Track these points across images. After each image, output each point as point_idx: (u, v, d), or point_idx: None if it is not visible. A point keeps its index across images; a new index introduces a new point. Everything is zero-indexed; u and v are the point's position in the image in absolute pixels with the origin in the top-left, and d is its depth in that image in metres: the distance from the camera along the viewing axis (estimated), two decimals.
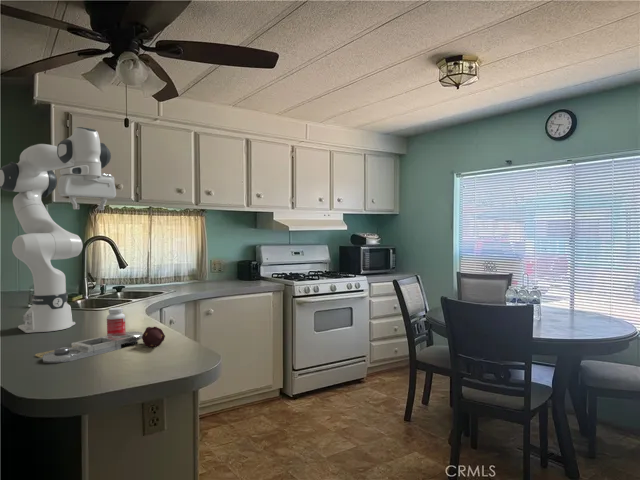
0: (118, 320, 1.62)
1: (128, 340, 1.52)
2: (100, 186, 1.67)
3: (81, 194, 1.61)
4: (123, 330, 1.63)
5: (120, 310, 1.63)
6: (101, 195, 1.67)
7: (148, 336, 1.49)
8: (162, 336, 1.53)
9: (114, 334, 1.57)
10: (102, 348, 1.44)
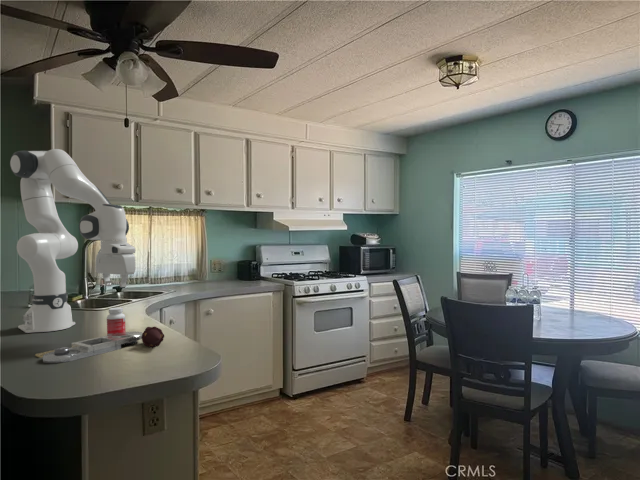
0: (118, 320, 1.62)
1: (128, 340, 1.52)
2: None
3: None
4: (123, 330, 1.63)
5: (120, 310, 1.63)
6: None
7: (147, 336, 1.49)
8: (161, 336, 1.53)
9: (114, 334, 1.57)
10: (102, 348, 1.44)
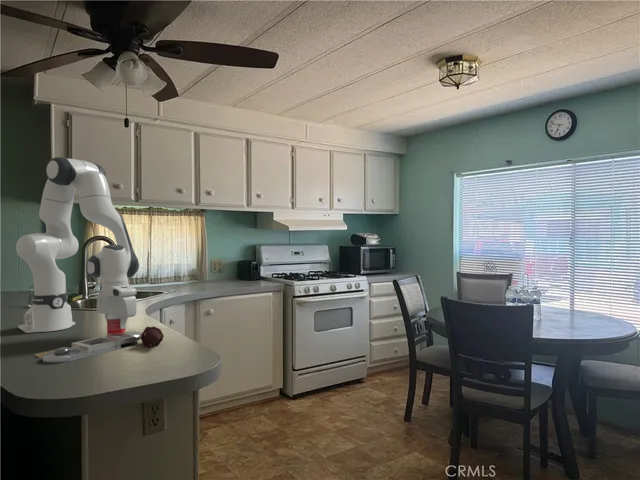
0: (118, 320, 1.62)
1: (128, 340, 1.52)
2: None
3: None
4: (123, 330, 1.63)
5: None
6: None
7: (147, 335, 1.49)
8: (161, 336, 1.53)
9: (114, 334, 1.57)
10: (102, 348, 1.44)
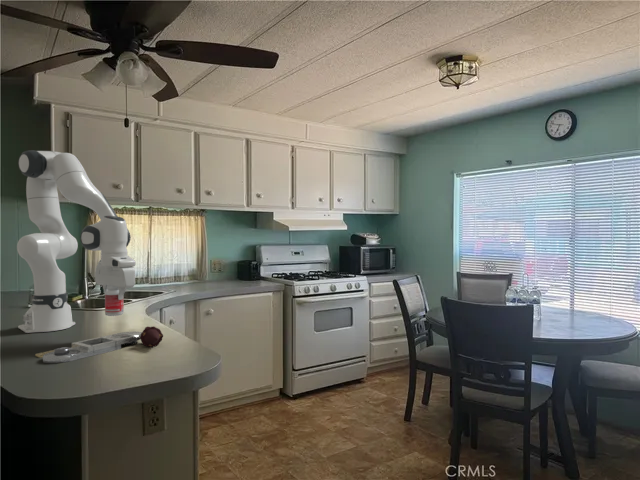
0: (116, 296, 1.62)
1: (128, 340, 1.52)
2: None
3: None
4: (121, 306, 1.64)
5: None
6: None
7: (146, 335, 1.50)
8: (160, 336, 1.53)
9: (114, 334, 1.57)
10: (102, 348, 1.44)
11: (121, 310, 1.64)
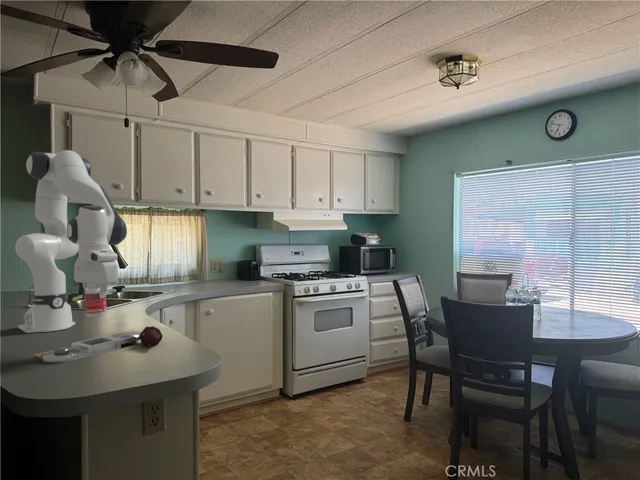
0: None
1: (128, 340, 1.52)
2: None
3: None
4: (103, 306, 1.47)
5: None
6: None
7: (145, 335, 1.50)
8: (160, 336, 1.53)
9: (114, 334, 1.57)
10: (102, 348, 1.44)
11: (103, 310, 1.47)
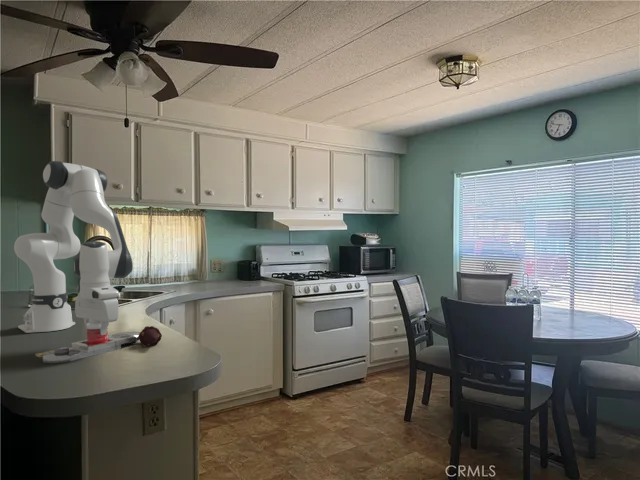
0: None
1: (128, 340, 1.52)
2: None
3: None
4: (105, 341, 1.47)
5: None
6: None
7: (144, 335, 1.50)
8: (159, 336, 1.53)
9: (114, 334, 1.57)
10: (102, 348, 1.44)
11: None
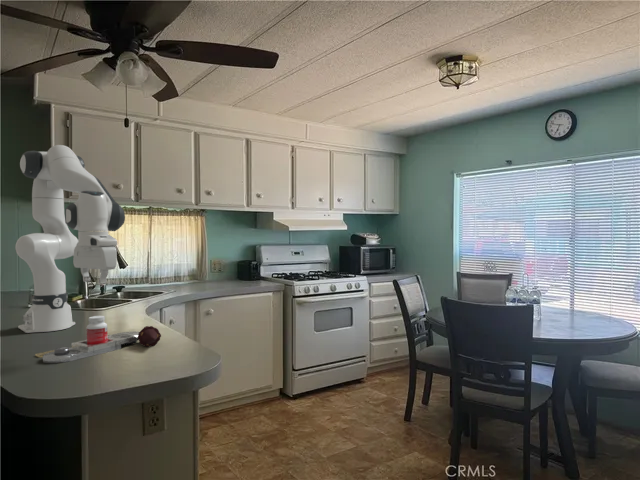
0: (99, 330, 1.46)
1: (128, 340, 1.52)
2: None
3: None
4: (105, 341, 1.47)
5: (101, 319, 1.47)
6: None
7: (143, 335, 1.50)
8: (158, 336, 1.54)
9: (114, 334, 1.57)
10: (102, 348, 1.44)
11: None
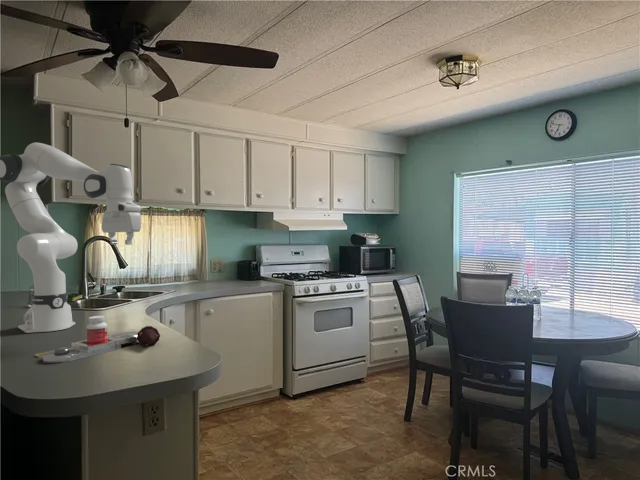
0: (99, 330, 1.46)
1: (128, 340, 1.52)
2: None
3: None
4: (105, 341, 1.47)
5: (101, 319, 1.47)
6: None
7: (142, 335, 1.50)
8: (157, 336, 1.53)
9: (114, 334, 1.57)
10: (102, 348, 1.44)
11: None
